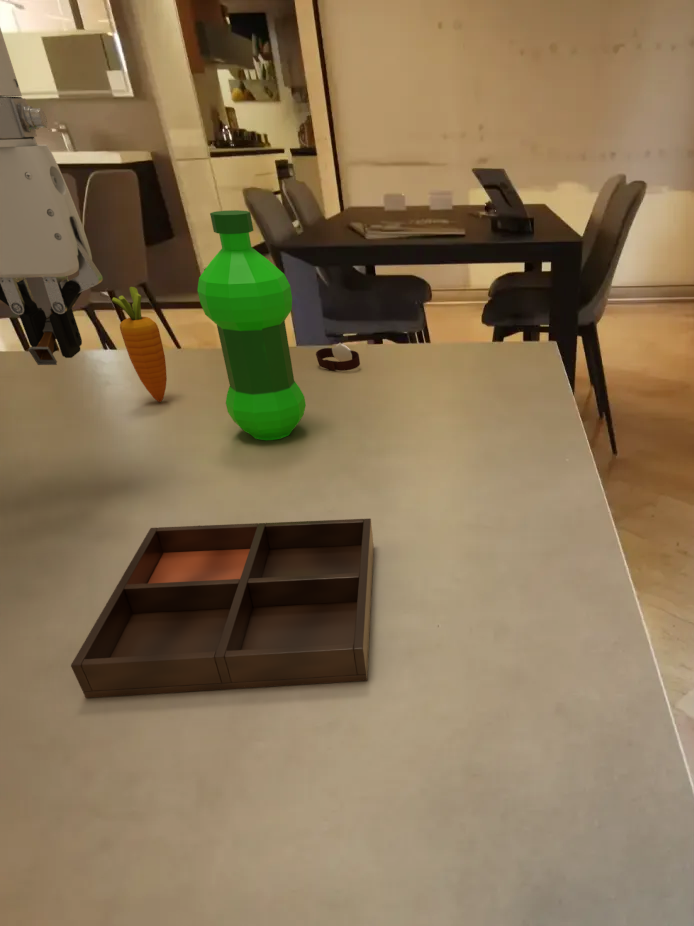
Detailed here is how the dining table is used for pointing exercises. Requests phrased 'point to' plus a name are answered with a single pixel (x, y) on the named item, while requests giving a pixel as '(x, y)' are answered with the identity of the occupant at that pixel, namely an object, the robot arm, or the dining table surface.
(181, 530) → the grid
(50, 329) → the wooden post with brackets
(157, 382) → the carrot
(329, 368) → the watch
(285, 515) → the dining table surface
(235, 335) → the plastic bottle
